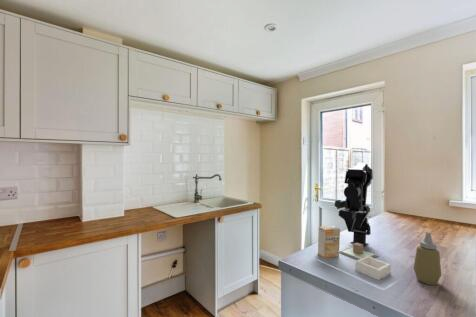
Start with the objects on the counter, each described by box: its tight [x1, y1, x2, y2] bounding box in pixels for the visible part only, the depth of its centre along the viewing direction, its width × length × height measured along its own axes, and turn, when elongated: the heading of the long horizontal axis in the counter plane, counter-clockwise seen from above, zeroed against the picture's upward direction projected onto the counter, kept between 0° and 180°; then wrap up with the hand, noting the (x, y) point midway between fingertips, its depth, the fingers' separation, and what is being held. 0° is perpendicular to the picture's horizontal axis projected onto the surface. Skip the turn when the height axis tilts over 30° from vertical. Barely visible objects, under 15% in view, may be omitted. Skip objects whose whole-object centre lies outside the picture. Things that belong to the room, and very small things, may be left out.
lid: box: [341, 243, 376, 260], centre depth 110 cm, size 10×10×5 cm
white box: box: [354, 256, 392, 281], centre depth 94 cm, size 9×9×4 cm
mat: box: [339, 246, 380, 261], centre depth 110 cm, size 13×13×1 cm
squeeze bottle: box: [413, 231, 442, 286], centre depth 88 cm, size 8×8×18 cm
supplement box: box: [317, 225, 341, 259], centre depth 109 cm, size 8×5×13 cm, turn 105°
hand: (354, 229), depth 109 cm, fingers open, 9 cm apart
